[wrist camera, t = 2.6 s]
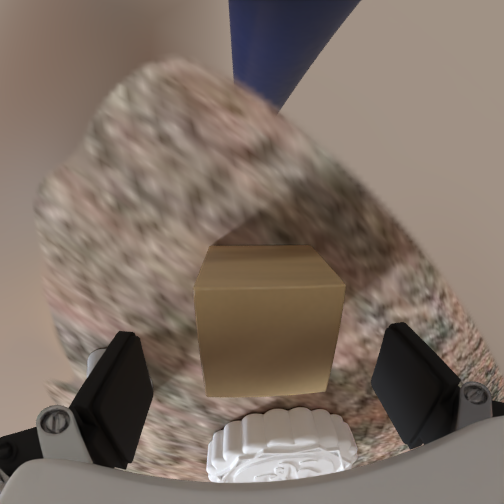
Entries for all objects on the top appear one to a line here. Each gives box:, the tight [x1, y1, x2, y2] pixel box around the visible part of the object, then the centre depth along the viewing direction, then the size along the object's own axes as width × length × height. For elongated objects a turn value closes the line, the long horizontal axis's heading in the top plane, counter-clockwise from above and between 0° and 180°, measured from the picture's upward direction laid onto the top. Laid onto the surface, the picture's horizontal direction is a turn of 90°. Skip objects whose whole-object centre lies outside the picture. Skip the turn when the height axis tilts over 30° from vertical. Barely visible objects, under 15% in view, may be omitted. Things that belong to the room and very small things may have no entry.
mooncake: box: [207, 407, 358, 483], centre depth 17 cm, size 12×12×4 cm
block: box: [193, 245, 346, 397], centre depth 12 cm, size 5×5×5 cm
